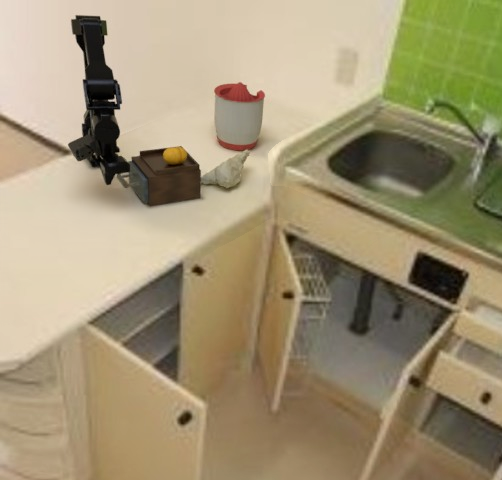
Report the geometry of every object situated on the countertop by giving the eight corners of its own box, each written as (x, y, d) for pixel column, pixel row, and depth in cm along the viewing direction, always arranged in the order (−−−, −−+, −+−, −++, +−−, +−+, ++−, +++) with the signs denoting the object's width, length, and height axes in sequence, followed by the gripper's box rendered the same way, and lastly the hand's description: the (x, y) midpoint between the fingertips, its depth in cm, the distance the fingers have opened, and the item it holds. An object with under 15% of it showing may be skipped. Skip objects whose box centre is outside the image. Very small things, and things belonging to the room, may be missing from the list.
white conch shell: (210, 203, 179) (254, 173, 176) (194, 180, 177) (239, 150, 174) (220, 194, 193) (261, 167, 190) (206, 173, 191) (247, 145, 188)
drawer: (128, 206, 166) (126, 182, 162) (113, 186, 174) (111, 163, 170) (192, 195, 175) (192, 173, 171) (175, 177, 182) (175, 155, 178)
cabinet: (149, 206, 169) (148, 177, 164) (132, 185, 177) (131, 156, 172) (200, 198, 176) (200, 170, 171) (182, 177, 184) (182, 150, 179)
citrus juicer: (273, 143, 212) (279, 82, 200) (241, 158, 200) (244, 95, 188) (236, 128, 218) (239, 69, 206) (202, 142, 205) (203, 80, 193)
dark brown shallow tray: (156, 176, 165) (156, 170, 164) (139, 156, 173) (139, 150, 172) (199, 170, 171) (199, 164, 170) (181, 151, 179) (181, 145, 178)
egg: (163, 168, 170) (168, 162, 166) (159, 152, 170) (163, 146, 167) (186, 165, 173) (191, 158, 170) (182, 149, 174) (186, 143, 170)
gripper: (58, 115, 159) (65, 173, 168) (81, 145, 147) (87, 206, 156) (103, 111, 164) (108, 167, 174) (129, 140, 152) (132, 198, 162)
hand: (108, 184), depth 166 cm, fingers closed
